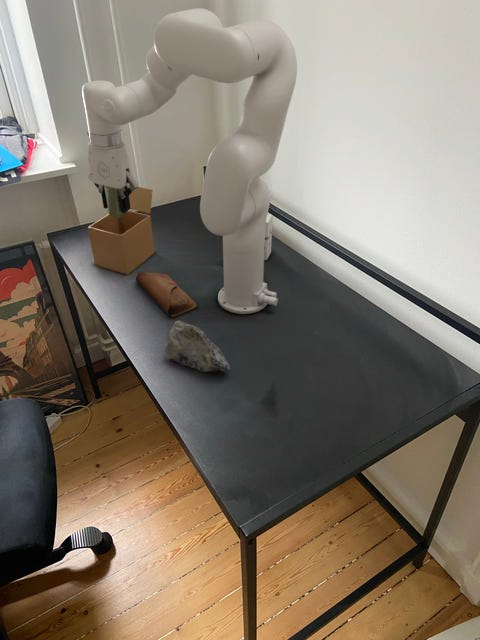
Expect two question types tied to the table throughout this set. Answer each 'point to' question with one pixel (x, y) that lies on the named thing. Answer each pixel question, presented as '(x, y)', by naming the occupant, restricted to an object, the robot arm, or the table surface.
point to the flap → (141, 199)
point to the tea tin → (113, 202)
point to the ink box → (268, 236)
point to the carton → (122, 241)
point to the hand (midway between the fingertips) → (117, 207)
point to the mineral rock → (194, 349)
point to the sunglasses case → (166, 293)
